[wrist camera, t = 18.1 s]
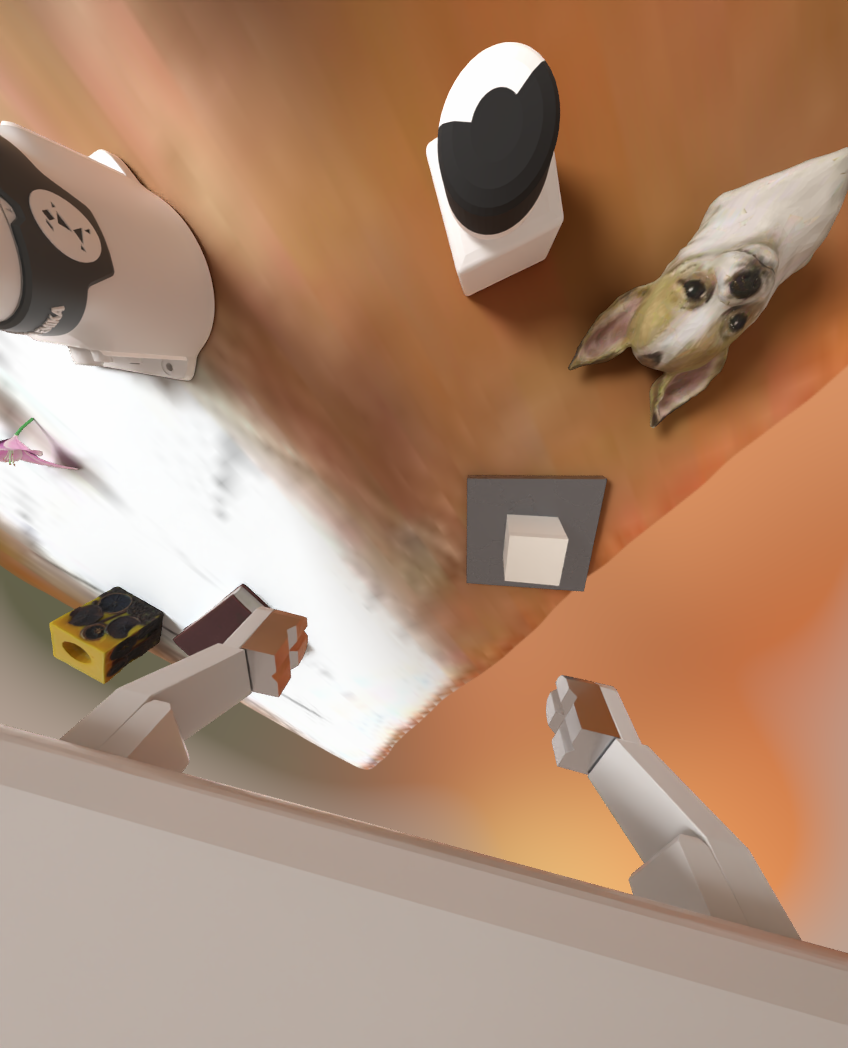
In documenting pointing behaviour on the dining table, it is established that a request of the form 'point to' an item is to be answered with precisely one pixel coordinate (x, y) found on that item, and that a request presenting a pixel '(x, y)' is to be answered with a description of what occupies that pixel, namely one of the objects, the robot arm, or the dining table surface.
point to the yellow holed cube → (106, 633)
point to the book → (219, 621)
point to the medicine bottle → (498, 165)
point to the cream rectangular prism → (534, 549)
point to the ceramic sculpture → (720, 280)
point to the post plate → (534, 497)
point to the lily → (22, 451)
